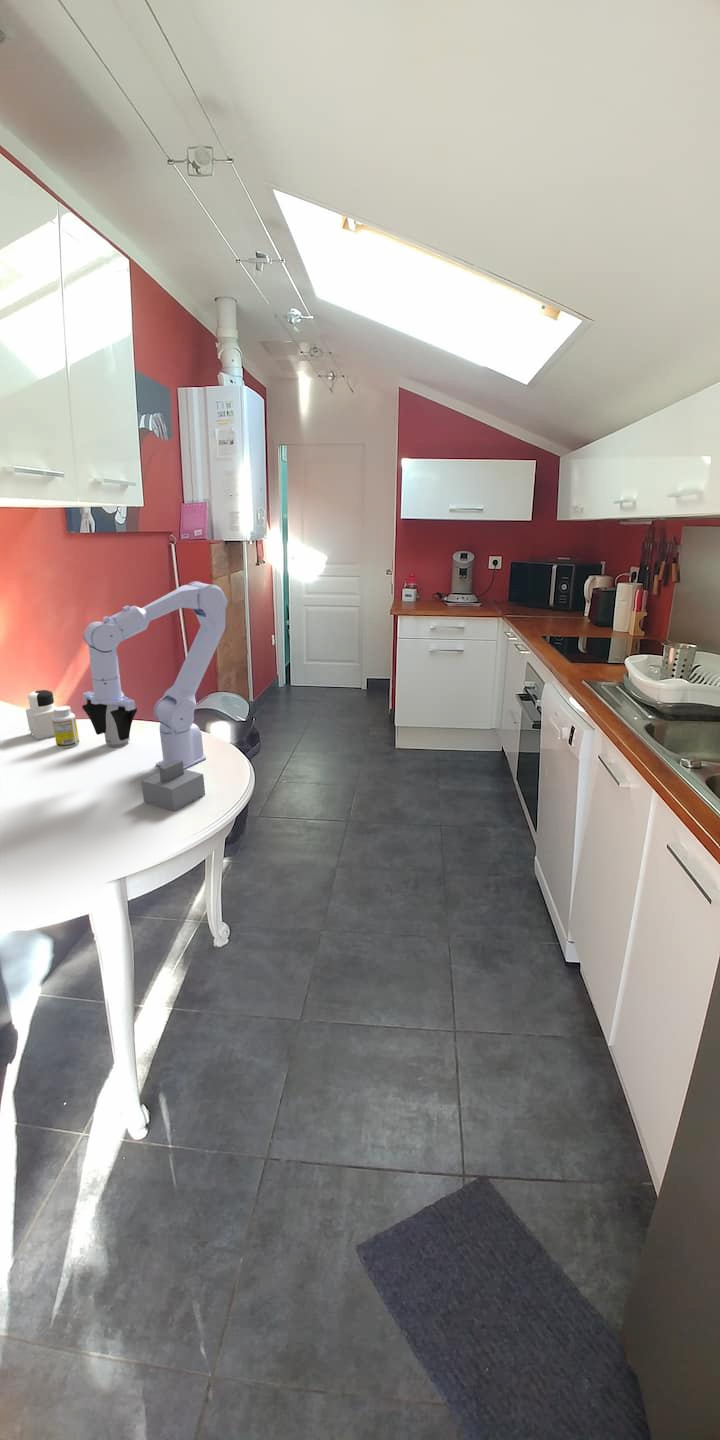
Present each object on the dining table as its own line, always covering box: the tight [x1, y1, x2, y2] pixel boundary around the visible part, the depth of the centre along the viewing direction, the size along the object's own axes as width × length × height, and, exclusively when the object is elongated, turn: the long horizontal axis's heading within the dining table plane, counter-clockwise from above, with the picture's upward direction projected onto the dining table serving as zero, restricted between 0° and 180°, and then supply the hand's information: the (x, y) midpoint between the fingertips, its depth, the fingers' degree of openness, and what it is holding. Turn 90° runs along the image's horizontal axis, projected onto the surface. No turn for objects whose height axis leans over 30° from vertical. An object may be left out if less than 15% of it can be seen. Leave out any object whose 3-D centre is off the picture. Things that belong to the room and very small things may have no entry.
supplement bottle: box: [52, 705, 80, 749], centre depth 175 cm, size 6×6×10 cm
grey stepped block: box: [140, 760, 206, 812], centre depth 143 cm, size 9×9×8 cm
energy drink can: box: [103, 690, 131, 748], centre depth 174 cm, size 6×6×15 cm
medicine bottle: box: [25, 689, 57, 740], centre depth 183 cm, size 7×7×12 cm
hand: (112, 736), depth 152 cm, fingers open, 7 cm apart
